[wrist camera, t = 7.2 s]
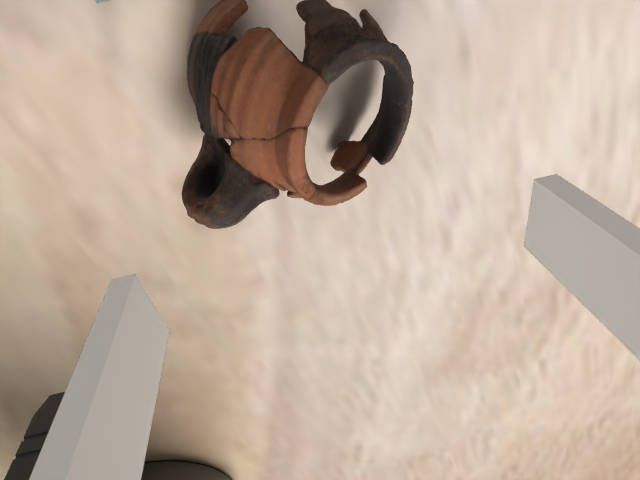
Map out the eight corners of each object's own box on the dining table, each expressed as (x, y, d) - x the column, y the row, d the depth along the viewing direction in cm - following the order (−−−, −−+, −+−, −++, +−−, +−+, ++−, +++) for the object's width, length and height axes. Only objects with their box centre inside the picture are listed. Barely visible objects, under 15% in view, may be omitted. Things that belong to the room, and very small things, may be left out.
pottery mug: (245, -79, 17) (382, -55, 13) (342, 62, 25) (449, 108, 21) (92, 148, 18) (168, 246, 14) (231, 216, 26) (309, 293, 22)
